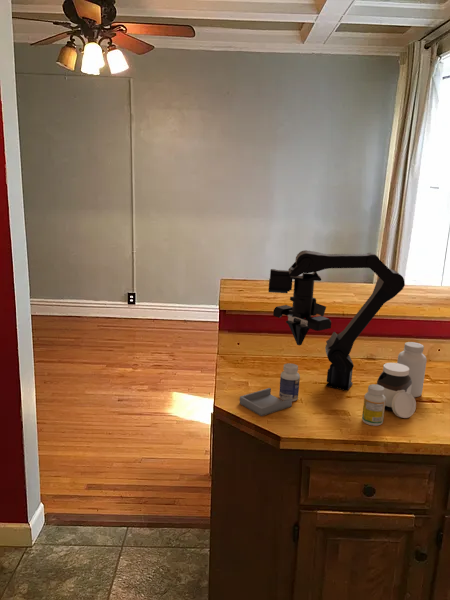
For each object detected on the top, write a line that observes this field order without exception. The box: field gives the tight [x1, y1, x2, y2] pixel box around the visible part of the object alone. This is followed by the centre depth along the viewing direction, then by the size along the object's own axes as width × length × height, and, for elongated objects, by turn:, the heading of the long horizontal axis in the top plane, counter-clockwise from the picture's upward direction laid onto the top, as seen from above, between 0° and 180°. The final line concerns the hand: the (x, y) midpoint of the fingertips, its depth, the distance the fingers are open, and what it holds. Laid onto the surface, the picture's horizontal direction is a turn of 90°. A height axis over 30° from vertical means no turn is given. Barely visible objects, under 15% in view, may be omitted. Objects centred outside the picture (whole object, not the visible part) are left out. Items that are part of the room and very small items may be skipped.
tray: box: [239, 387, 293, 417], centre depth 147 cm, size 11×9×2 cm
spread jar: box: [376, 362, 417, 419], centre depth 147 cm, size 12×11×12 cm
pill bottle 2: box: [396, 341, 427, 398], centre depth 158 cm, size 8×8×15 cm
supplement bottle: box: [361, 383, 386, 426], centre depth 139 cm, size 5×5×10 cm
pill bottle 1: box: [278, 362, 301, 402], centre depth 151 cm, size 5×5×10 cm
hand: (299, 345), depth 161 cm, fingers closed
